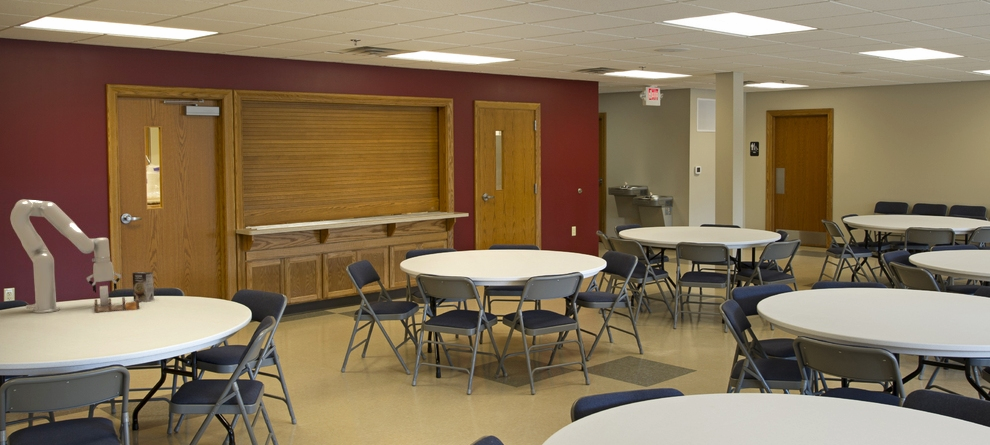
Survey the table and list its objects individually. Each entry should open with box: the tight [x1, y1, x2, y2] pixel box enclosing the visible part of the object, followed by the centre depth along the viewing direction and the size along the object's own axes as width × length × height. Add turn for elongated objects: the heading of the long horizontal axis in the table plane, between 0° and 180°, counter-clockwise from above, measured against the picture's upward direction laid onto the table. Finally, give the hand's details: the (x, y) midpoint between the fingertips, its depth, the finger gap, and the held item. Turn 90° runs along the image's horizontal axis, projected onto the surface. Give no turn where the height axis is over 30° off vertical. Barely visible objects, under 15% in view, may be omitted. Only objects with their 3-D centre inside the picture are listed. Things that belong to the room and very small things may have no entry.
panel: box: [99, 285, 109, 306], centre depth 457 cm, size 4×11×10 cm, turn 25°
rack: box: [94, 296, 140, 314], centre depth 445 cm, size 21×15×5 cm
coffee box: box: [132, 271, 155, 303], centre depth 469 cm, size 9×6×16 cm
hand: (105, 291), depth 457 cm, fingers open, 9 cm apart
